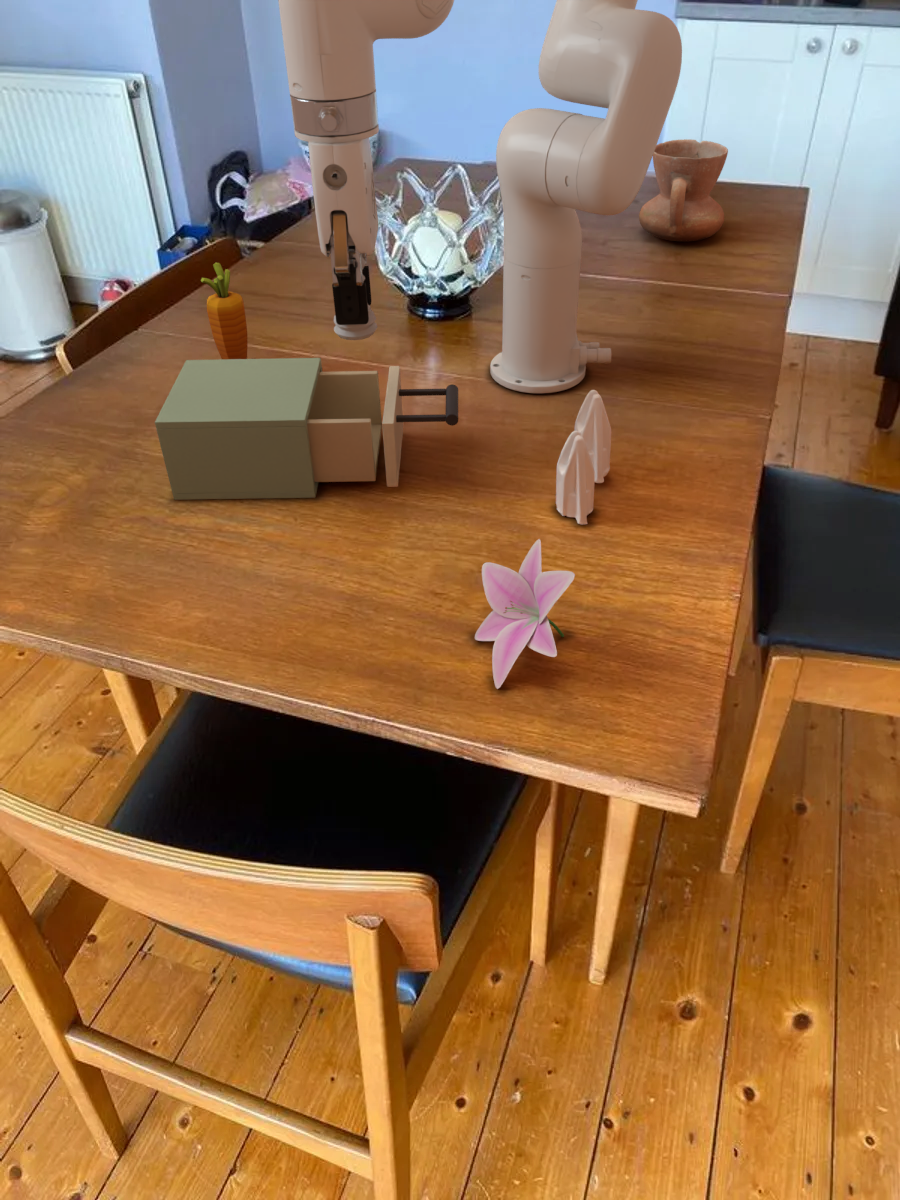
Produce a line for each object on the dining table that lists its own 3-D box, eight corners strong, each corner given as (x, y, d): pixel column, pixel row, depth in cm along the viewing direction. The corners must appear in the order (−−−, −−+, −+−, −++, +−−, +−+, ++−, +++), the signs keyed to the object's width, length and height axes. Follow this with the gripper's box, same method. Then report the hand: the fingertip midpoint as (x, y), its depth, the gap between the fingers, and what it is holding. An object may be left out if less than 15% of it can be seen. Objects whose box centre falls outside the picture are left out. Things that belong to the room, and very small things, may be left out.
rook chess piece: (326, 338, 95) (317, 259, 89) (346, 320, 98) (338, 243, 93) (366, 344, 93) (359, 264, 88) (385, 326, 96) (379, 248, 91)
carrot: (249, 387, 123) (229, 274, 113) (213, 385, 124) (191, 272, 114) (262, 370, 127) (244, 260, 117) (228, 368, 127) (207, 258, 118)
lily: (489, 600, 90) (445, 547, 83) (607, 572, 85) (571, 514, 78) (489, 714, 83) (441, 667, 76) (616, 690, 79) (578, 638, 72)
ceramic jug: (649, 215, 172) (659, 132, 163) (729, 224, 168) (743, 138, 159) (624, 248, 160) (633, 159, 151) (709, 258, 155) (724, 167, 146)
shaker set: (578, 462, 107) (584, 372, 100) (614, 468, 106) (623, 378, 99) (548, 518, 98) (553, 425, 91) (586, 526, 97) (595, 432, 90)
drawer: (459, 425, 112) (458, 364, 107) (459, 485, 102) (458, 422, 97) (283, 427, 113) (274, 367, 108) (265, 488, 102) (254, 425, 97)
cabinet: (329, 431, 114) (320, 357, 108) (315, 497, 102) (304, 419, 96) (201, 433, 114) (186, 359, 108) (173, 499, 103) (154, 422, 97)
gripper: (371, 138, 76) (387, 349, 88) (382, 92, 89) (395, 282, 101) (279, 141, 76) (308, 351, 88) (304, 94, 89) (325, 283, 101)
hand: (354, 312), depth 94 cm, fingers closed on rook chess piece, 3 cm apart
